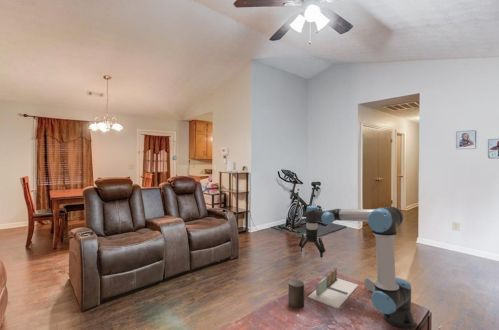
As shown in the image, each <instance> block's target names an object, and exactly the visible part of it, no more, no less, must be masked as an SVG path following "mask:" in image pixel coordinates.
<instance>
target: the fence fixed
mask: <svg viewBox="0 0 499 330" xmlns="http://www.w3.org/2000/svg"><path fill="white" fill-rule="evenodd" d="M337 270H338V269H337V267H334V268H333V270H332V271H330V272H329V273H328V274H325V275H324V277H327V287H326V288H328V286H329V285H330V284H332V283H333V282H334V281H335V280H337V277H338V276H337V275H338V273H337V272H338V271H337Z"/></svg>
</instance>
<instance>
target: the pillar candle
mask: <svg viewBox="0 0 499 330" xmlns="http://www.w3.org/2000/svg"><path fill="white" fill-rule="evenodd" d="M287 283H288V306H289V307H290V308H293V309H302V308H303V307H305V283H304V281H303V280H300V279H294V278H293V279H290V280H288V282H287Z"/></svg>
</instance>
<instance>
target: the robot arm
mask: <svg viewBox="0 0 499 330" xmlns="http://www.w3.org/2000/svg"><path fill="white" fill-rule="evenodd" d="M305 211H306V214H305V215H306V218H305V219H306V220H305V221H306V225H305V226H306V227H305V229H306V230H305V233H303V234H301V238H300V241H299V244H298V247H300V252H301V258H305V254H306V252H305V251H306V247H305V246H307V243H314V245H315V246H316V248H317V249H318V251H319V252H318V263H321V262H322V258H323V257H324V253H325V252H326V248H325V245H324V242H323V238H322V237H321V236H320V237H319V236H318V222H319V223H322V224H325V225H331V224H332V223H334V221H341V222H342V221H344V222H346V221H347V222H348V221H349V222H367V223H368V226H369V227H370V229H371V233H372V235H374V236H375V237H374V238H375V254H376V256H375V257H376V276H377V277H376V279H377V280H374V281H375V291H374V292H372V293H371V296H370V297H371V298H370V299H371V303H372V305H373V306H374V307H375V308H376V309H377V311H379V312H381V313H382V314H383V317H382V318H383V319H384V320H385V322H387V323H388V324H389V325H391V326H392V327H396V328H399V329H405V330H407V329H408V330H410V329H412V328H414V327H415V318H414V315H413V312H412V284H411V282H410V281H408V280H406V279H403V278H401V277H397V276H396V263H395V242H394V238H395V237H396V236H397V227H399V226H401V224H403V222H404V215H403V213H402V211H401V209H399V208H398V207H395V206H392V205H391V206H386V207H384V206H383V207H378V208H371V209H369V208H368V209H365V208H361V209H360V208H358V209H357V208H354V209H353V208H351V209H349V208H347V209H346V208H345V209H343V208H334V209H329V210H319V208H318V206H316V205H308V206H307V207H306V210H305ZM305 239H306V240H305Z"/></svg>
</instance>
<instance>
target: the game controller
mask: <svg viewBox="0 0 499 330" xmlns="http://www.w3.org/2000/svg"><path fill="white" fill-rule="evenodd" d="M375 281H376V280H374V279H372V278H370V277H366V278H364V281H363V283H364V287H365V288H366V290H368V292H369V291H370V292H372V293H373V292H374V291H375Z"/></svg>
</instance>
